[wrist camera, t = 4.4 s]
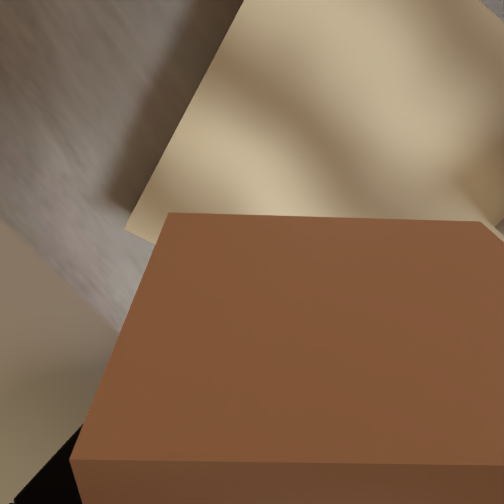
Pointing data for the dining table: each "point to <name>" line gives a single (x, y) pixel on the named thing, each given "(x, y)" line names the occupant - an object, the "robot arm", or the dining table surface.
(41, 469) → the robot arm
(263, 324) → the collar
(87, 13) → the dining table surface
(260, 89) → the post board
